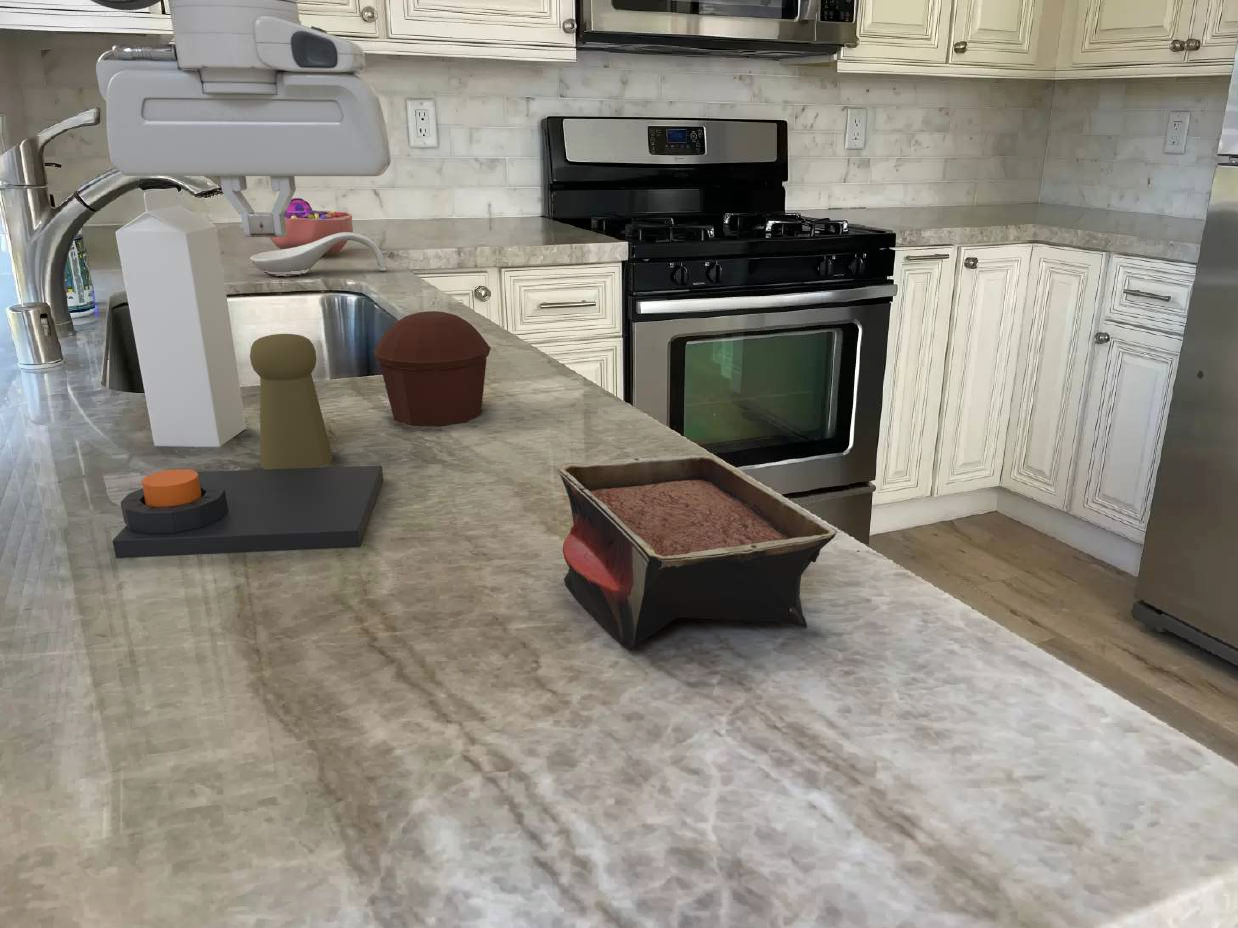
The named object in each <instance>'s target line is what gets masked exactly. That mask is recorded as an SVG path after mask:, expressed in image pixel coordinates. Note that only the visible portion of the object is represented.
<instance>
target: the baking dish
mask: <svg viewBox="0 0 1238 928" xmlns="http://www.w3.org/2000/svg"><path fill="white" fill-rule="evenodd" d="M557 473H558V475H559V477H560V478H561V482H562V483H563V485H564V488H565V491H566V494H567V496H568V500H569V504H570V510H571V518H572V523H573V525H572V527H571V528H570V532H569V533H568V535H567V536H566V538H565V539H564V542H563V546H562V554H563V555H562V556H563V559H564V560H565V562H566V564H567V567H568V572H567V574H566V575H565V577H564V578H563V580H564V585H565V586H566V588H567V589H568V591H569V592H570V594H571V595H572V596H573V597H574V599H575V600H576V601H577V603H579V605H580V606H582V607H583V608H584V610H585V611H587V613H588V614H589V615H590V616H591V618H593V619H594V620H595V621H596V622H597V623H598V624H599V625H600V627H601V628H603V630H604V631H606V632H607V633H608V634H609V635H610V636H611V637H612V638H613V639H614V640H615V641H616V642H617V643H619V644H620V646H622V647H623V648H624V649H626V650H627V651H631V650H632V649H633V648H635V647H636V646H638V645H639V644H640V643H642V642H644V641H645V640H646V639H648V638H650V637H651V636H652V635H654V634H655V633H657V632H659V631H660V630H662V629H663V628H664V627H666V626H667V625H669V624H670V623H672V622H673V621H675V620H676V619H677V618H684V619H686V618H687V619H705V620H706V619H709V620H710V619H711V620H729V621H733V620H735V621H753V622H755V621H757V622H776V623H782V624H786V625H792V626H799V627H804V628H808V624H807V620H806V617H805V616H804V613H803V608H802V603H801V602H802V601H801V581H802V576H803V574H804V572H805V571H807V568H808V567H809V566H810V565H811V563H816V562H817V559H818V558H819V556H820V553H821V550H822V549H823V548H824V547H825V546H827V545H828V544H829V543H830V542H831V541H832V540H833V539H834V538H835V537H836V535H837V534H838V530H836V529H835V528H834V527H831V526H829V525H827V524H826V523H824V522H823V521H822V520H819V519H818V518H816V517H814V516H813V515H811V514H810V513H808V512H807V511H805V510H803V509H801V508H800V507H797V506H795V505H794V504H793V503H791V502H789V501H788V500H785V499H784V498H783V497H781V496H779V495H777V494H776V493H774V492H772V491H771V490H770V489H768V488H765V487H764V486H763V485H762V484H760V483H758V482H757V481H755V480H753V479H751V478H749V477H748V476H746V475H745V474H743V473H742V472H740V471H739V470H738V469H736V468H733V467H732V466H730V465H729V464H727V463H726V462H724V461H722V460H721V459H719V458H715V457H713V456H707V455H702V454H700V455H696V454H692V455H667V456H666V455H665V456H664V455H663V456H649V457H638V458H619V459H618V458H617V459H608V460H597V461H586V462H582V463H578V462H577V463H571V464H566V465H564V466H560V467H559V468H557Z"/></svg>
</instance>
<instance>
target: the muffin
mask: <svg viewBox="0 0 1238 928" xmlns="http://www.w3.org/2000/svg"><path fill="white" fill-rule="evenodd" d="M491 350H492V347H491V346H490V345H489V344H488V342H487V341H486V340H485V338H484V337H483V335H481V334H480V332H479V331H478V330H477V328H476V327H475V326H473V325H472V324H471V323H470V322H468V321H467V320H466V319H464V318H462V317H461V316H459V315H457V314H454V313H450V312H445V311H439V310H438V311H437V310H435V311H434V310H433V311H432V310H429V311H427V310H426V311H419V312H414V313H412V314H407V315H405V316H404V317H402V318H401V319H399V320H398V321H396V322H395V323H394V324H392V325H391V326H390V327H388V329H386V331H385V332H384V333H383V335H382V336H381V338H380V339H379V341H378V342H377V344H376V346H375V348H374V349H373V350H372V352H373V355H374V357H375V359H376V360H377V362H378V363H379V366H380V370H381V371H380V372H381V374H382V377H383V383H384V385H385V391H386V393H387V397H388V402H389V405H390V406H389V407H390V409H391V414H392V417H393V420H394V421H396V422H401V423H404V424H407V425H410V426H428V427H429V426H431V427H442V426H449V425H454V424H462V423H467V422H469V421H471V420H472V419H475V418H477V417H479V416H482V407H483V399H484V391H485V390H484V389H485V380H486V370H487V369H486V368H487V359H488V358H487V357H489V356H490V353H491Z"/></svg>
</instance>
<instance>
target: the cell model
mask: <svg viewBox="0 0 1238 928" xmlns="http://www.w3.org/2000/svg"><path fill="white" fill-rule="evenodd" d="M284 216H285V224H286V236H284V237H268V238H269V239H270V240H271V242H272V244H274V245H275V247H277V248H278V249H279V250H282V249H288V248H294V247H299V246H302V245H306V244H309V243H312V242H315V241H317V240H320V239H322V238H325V237H327V236H330V235H333V234H337V233H342V232H351V233H354V228H353V214H352V213H349V212H346V211H334V210H315V209H314V210H313V207H311V204H310V203H309V202H308V201H307V200H304V199H303V198H301V197H292V199H291V202H290V204H289V206H288V208H287V210H286V212H284ZM348 241H349V240H346V241H341V242H339V243H337V244H335V245H333V246H332V247H331V248H330V249H329V250H328V251H327V252H325V253H324V254H323V256H324V255H328V254H327V253H330V254H329V255H331V254H334V253H338V252H340V251H341V250H343V248H344V247H345V246H346V245H347V243H348Z"/></svg>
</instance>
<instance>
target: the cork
mask: <svg viewBox="0 0 1238 928" xmlns="http://www.w3.org/2000/svg"><path fill="white" fill-rule="evenodd" d="M249 359H250V365H251V367H252V369H253V371H254V372H255V373H256V374H257V375H258V377H259V397H260V398H259V424H260V425H259V466H260V467H261V468H262V469H292V468H321V467H324V466H325V465H328V464H329V463H331V462H332V461H333V459H334V456H333V452H332V449H331V445H330V440H329V437H328V432H327V429H326V425H325V421H324V416H323V414H322V413H323V412H322V410H321V405H320V401H319V397H318V393H317V390H316V387H315V383H314V382H315V381H314V378H313V375H312V374H313V371H314V370H315V368H316V365H317V351H316V349H315V345H314V343H313V342H312V340H310V338H308V337H306V336H304V335H302V334H294V333H275V334H268V335H265V336H262V337H259V338H257V339H256V340H254V341H253V343H252V344H251V347H250V352H249Z"/></svg>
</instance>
